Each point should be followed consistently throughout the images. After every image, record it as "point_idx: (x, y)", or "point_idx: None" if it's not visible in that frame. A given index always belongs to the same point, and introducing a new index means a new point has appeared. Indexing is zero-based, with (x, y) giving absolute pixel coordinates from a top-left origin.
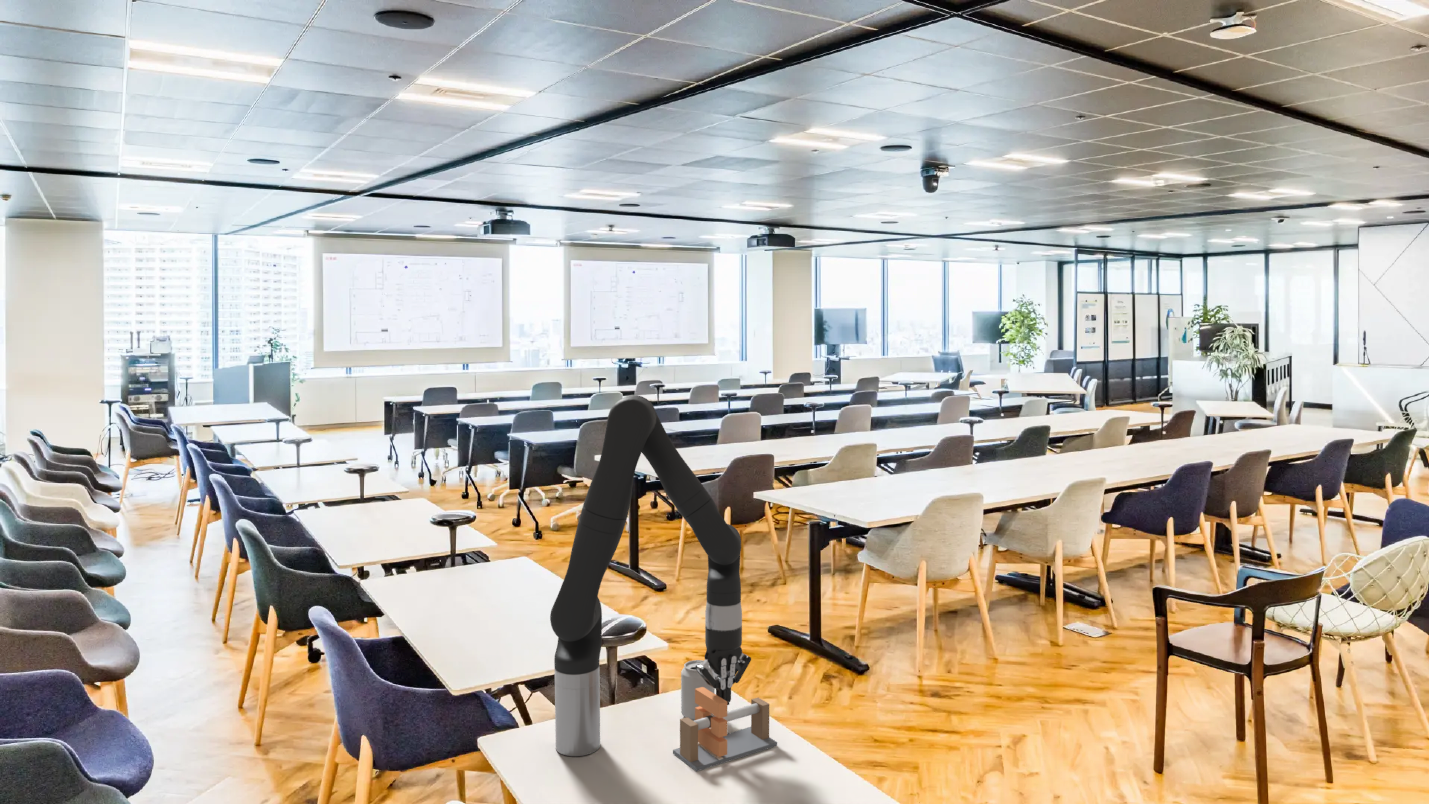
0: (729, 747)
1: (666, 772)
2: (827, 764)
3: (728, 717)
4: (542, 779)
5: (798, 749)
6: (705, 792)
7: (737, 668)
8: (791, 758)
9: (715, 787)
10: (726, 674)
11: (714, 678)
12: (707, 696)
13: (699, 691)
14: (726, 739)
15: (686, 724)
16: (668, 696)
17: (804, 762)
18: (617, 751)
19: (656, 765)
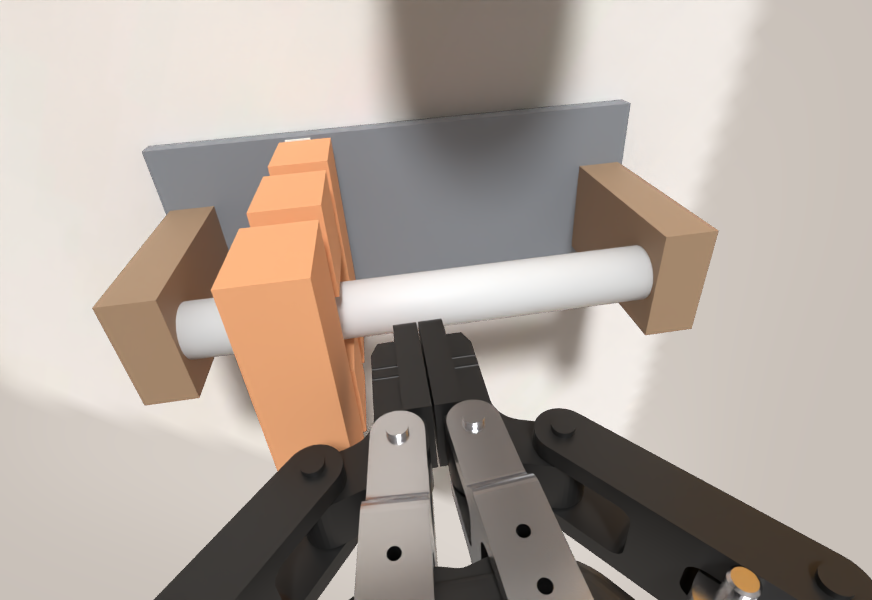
0: (414, 247)
1: (85, 287)
2: (626, 421)
3: None
4: None
5: (635, 324)
6: (207, 437)
7: (631, 549)
8: (571, 363)
9: (250, 424)
10: (474, 560)
11: (367, 488)
12: (270, 444)
13: (236, 353)
14: (443, 173)
15: (128, 369)
16: None
17: (584, 393)
18: None
19: (41, 216)
